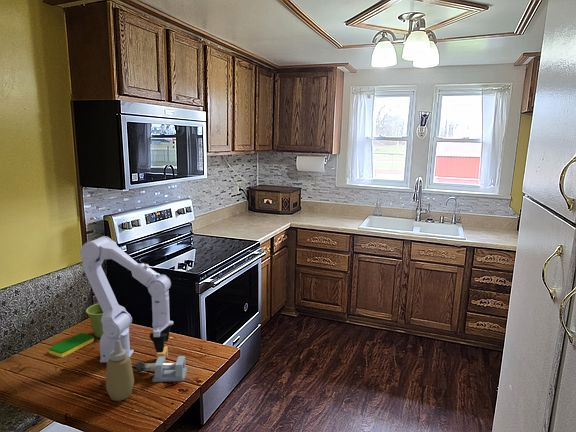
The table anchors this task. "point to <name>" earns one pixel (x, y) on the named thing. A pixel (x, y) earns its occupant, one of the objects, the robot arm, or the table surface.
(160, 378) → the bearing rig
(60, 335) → the table surface
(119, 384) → the squeeze bottle
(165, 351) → the block
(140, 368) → the shaft
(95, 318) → the plant pot
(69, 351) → the dish sponge
